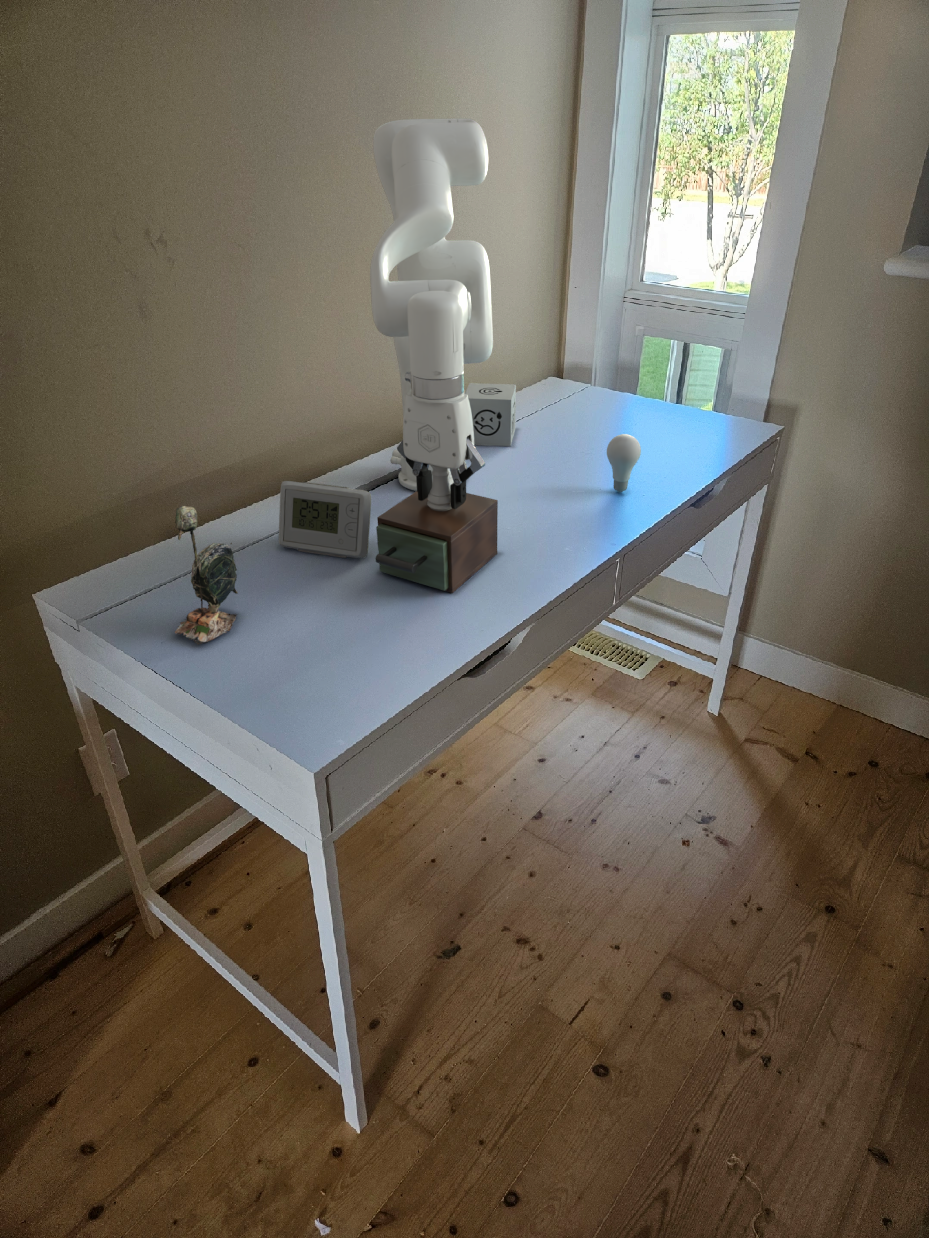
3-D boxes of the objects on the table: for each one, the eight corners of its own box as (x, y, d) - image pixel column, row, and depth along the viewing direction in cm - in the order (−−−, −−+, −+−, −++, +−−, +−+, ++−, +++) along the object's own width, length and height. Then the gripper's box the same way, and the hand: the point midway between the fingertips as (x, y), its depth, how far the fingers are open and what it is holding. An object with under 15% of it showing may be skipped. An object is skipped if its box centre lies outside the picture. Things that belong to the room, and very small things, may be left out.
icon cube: (515, 429, 182) (515, 384, 176) (510, 446, 174) (511, 399, 168) (470, 427, 183) (469, 383, 178) (463, 444, 175) (462, 398, 169)
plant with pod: (263, 617, 120) (240, 490, 109) (196, 652, 113) (165, 520, 102) (229, 598, 125) (204, 475, 114) (163, 631, 117) (129, 502, 106)
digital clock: (273, 548, 138) (264, 489, 132) (307, 526, 144) (300, 469, 138) (353, 570, 131) (346, 509, 125) (385, 546, 137) (380, 487, 132)
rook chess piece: (452, 513, 126) (451, 463, 121) (424, 511, 127) (421, 462, 122) (458, 500, 130) (457, 452, 125) (431, 498, 130) (428, 450, 126)
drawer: (429, 604, 121) (426, 557, 116) (363, 583, 126) (358, 538, 121) (487, 554, 133) (487, 510, 129) (425, 537, 138) (423, 494, 134)
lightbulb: (614, 482, 158) (619, 426, 152) (642, 490, 154) (648, 434, 148) (597, 493, 154) (601, 436, 148) (626, 501, 150) (631, 444, 144)
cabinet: (452, 593, 125) (450, 536, 119) (381, 572, 130) (377, 517, 125) (497, 553, 135) (497, 500, 130) (429, 535, 140) (427, 483, 135)
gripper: (373, 383, 119) (382, 499, 129) (476, 402, 111) (477, 523, 121) (402, 370, 124) (409, 482, 134) (503, 386, 117) (502, 503, 127)
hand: (441, 500), depth 128 cm, fingers open, 5 cm apart
